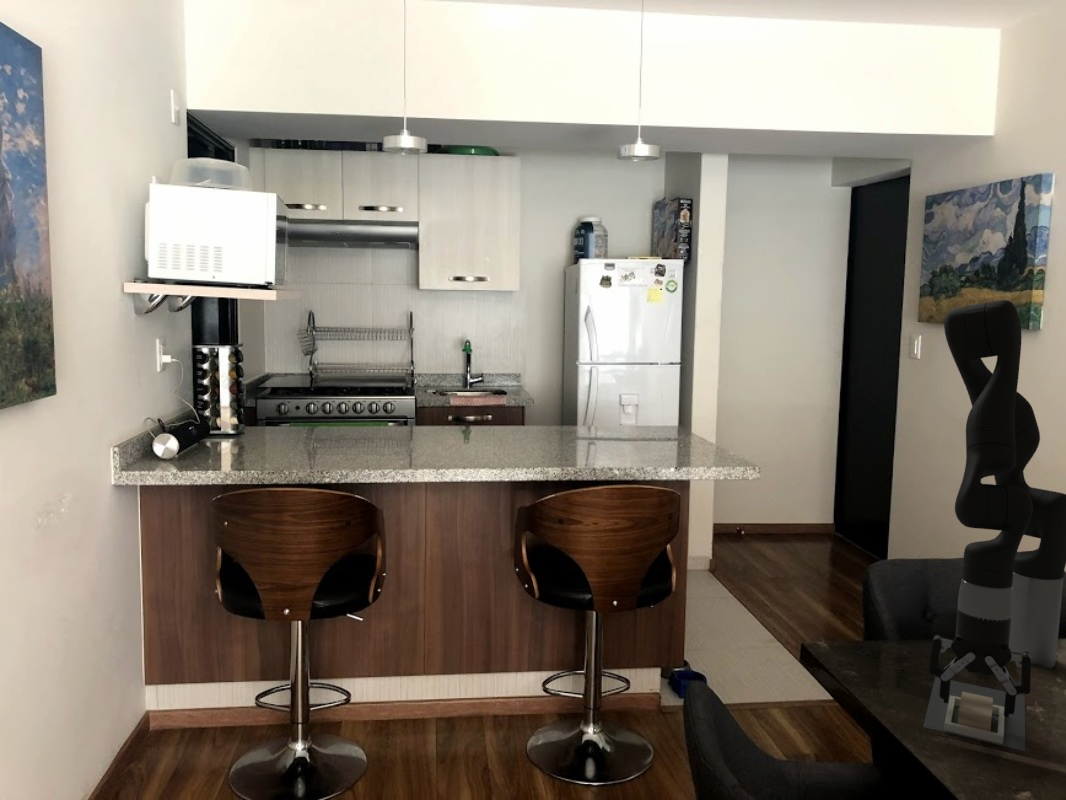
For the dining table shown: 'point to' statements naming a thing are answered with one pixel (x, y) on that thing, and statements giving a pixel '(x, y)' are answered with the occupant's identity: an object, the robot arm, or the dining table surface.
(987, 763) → the dining table surface
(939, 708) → the mat
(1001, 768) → the dining table surface
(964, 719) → the tan rectangular block
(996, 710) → the slot frame
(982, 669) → the robot arm
